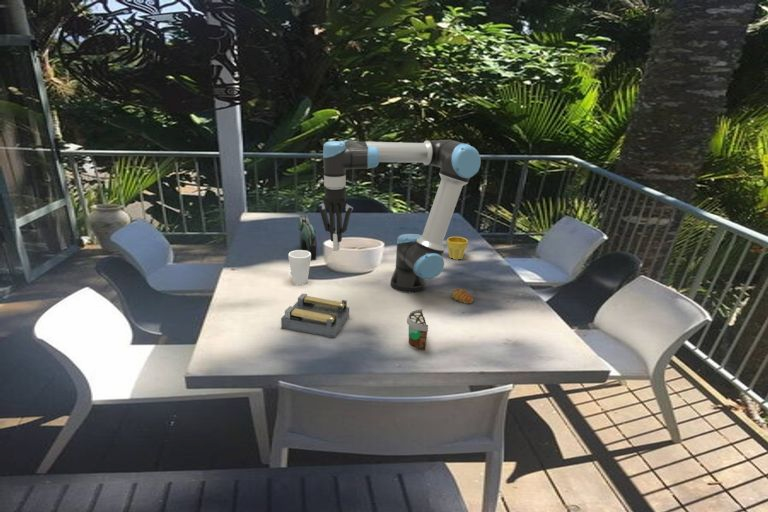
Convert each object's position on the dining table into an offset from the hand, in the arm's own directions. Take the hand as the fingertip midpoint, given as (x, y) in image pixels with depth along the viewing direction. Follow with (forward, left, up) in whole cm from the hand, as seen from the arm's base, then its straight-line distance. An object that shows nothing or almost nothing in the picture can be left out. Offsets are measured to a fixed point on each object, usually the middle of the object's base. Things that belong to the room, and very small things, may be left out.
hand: (336, 249), depth 178 cm
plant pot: (-38, -74, -25) cm, 87 cm away
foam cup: (+23, -19, -25) cm, 39 cm away
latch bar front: (+2, +17, -20) cm, 27 cm away
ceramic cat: (+33, -52, -25) cm, 67 cm away
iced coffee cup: (-34, +14, -25) cm, 44 cm away
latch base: (+3, +12, -25) cm, 28 cm away
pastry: (-46, -27, -25) cm, 59 cm away
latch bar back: (+2, +6, -20) cm, 21 cm away
